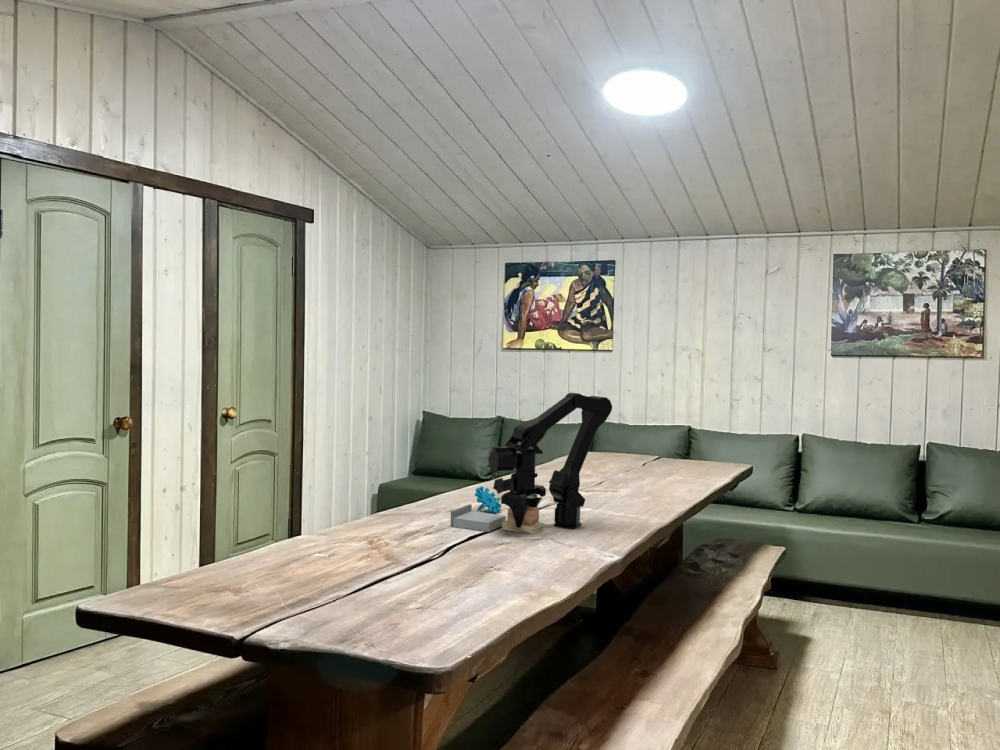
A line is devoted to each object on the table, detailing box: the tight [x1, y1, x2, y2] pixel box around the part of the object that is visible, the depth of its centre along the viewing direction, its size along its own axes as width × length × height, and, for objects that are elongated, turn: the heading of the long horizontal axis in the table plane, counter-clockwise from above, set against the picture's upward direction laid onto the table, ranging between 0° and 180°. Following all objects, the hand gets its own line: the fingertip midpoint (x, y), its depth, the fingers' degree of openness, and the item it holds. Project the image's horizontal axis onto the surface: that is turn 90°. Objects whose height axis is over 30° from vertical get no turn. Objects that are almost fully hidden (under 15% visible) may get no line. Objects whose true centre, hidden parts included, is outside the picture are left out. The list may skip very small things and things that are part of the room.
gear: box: [474, 485, 503, 514], centre depth 246 cm, size 11×6×10 cm
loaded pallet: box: [501, 507, 545, 535], centre depth 223 cm, size 10×6×6 cm, turn 65°
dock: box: [449, 503, 507, 533], centre depth 227 cm, size 12×11×4 cm
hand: (523, 525), depth 223 cm, fingers closed on loaded pallet, 6 cm apart
